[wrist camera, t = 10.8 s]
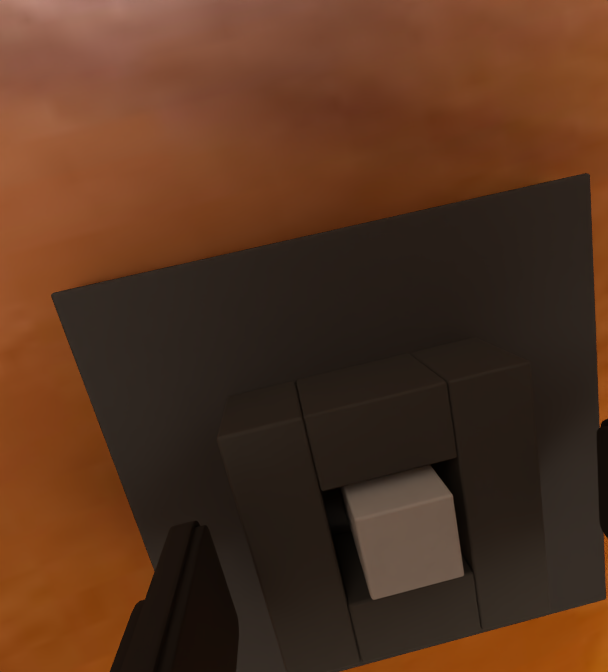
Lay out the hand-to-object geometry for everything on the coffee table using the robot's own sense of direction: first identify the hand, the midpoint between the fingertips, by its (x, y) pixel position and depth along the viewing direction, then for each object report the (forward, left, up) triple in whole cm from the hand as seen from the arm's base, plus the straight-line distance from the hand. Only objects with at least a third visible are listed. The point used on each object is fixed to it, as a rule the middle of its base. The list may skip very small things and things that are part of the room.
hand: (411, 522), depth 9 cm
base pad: (0, 0, -4) cm, 4 cm away
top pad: (0, 0, -2) cm, 2 cm away
